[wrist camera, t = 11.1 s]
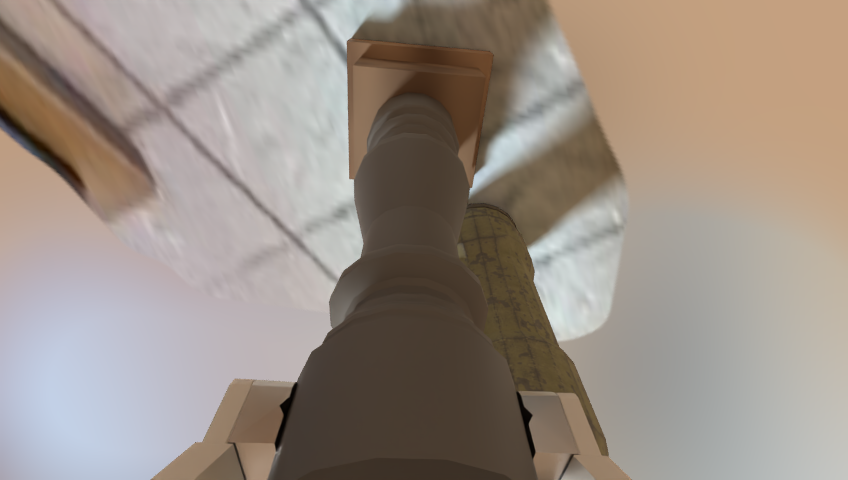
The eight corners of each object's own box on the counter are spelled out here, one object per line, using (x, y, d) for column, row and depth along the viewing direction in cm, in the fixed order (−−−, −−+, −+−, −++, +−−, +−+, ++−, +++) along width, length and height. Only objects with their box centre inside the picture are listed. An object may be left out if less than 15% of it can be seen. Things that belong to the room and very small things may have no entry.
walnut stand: (352, 170, 37) (341, 199, 31) (350, 38, 31) (337, 47, 26) (469, 179, 37) (477, 208, 32) (489, 51, 31) (503, 62, 26)
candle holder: (404, 72, 26) (356, 396, 5) (472, 128, 29) (630, 519, 8) (354, 143, 29) (189, 550, 8) (420, 190, 31) (429, 609, 10)
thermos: (454, 177, 37) (594, 911, 8) (546, 236, 41) (884, 887, 11) (404, 243, 41) (366, 897, 11) (492, 291, 45) (636, 883, 15)
